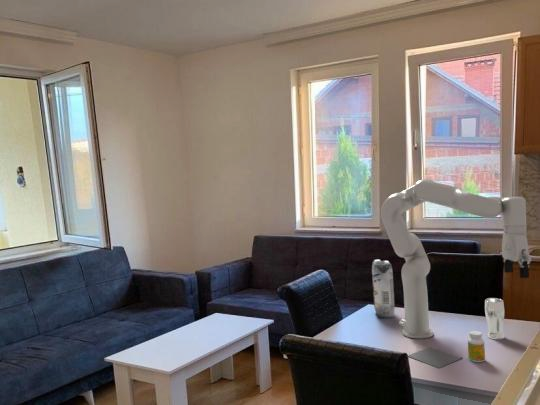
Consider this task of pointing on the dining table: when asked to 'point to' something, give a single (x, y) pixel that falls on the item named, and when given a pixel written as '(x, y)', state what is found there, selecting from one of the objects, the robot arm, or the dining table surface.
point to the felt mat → (434, 357)
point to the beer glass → (494, 317)
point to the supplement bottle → (476, 347)
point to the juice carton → (383, 288)
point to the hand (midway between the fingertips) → (516, 274)
